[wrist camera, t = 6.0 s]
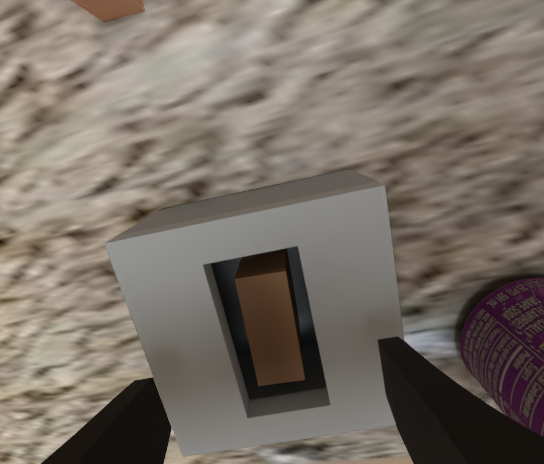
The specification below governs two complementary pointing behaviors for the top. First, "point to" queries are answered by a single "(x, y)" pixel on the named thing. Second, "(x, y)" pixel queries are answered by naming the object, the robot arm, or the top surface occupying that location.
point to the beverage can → (510, 350)
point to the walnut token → (271, 317)
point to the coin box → (229, 320)
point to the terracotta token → (111, 8)
